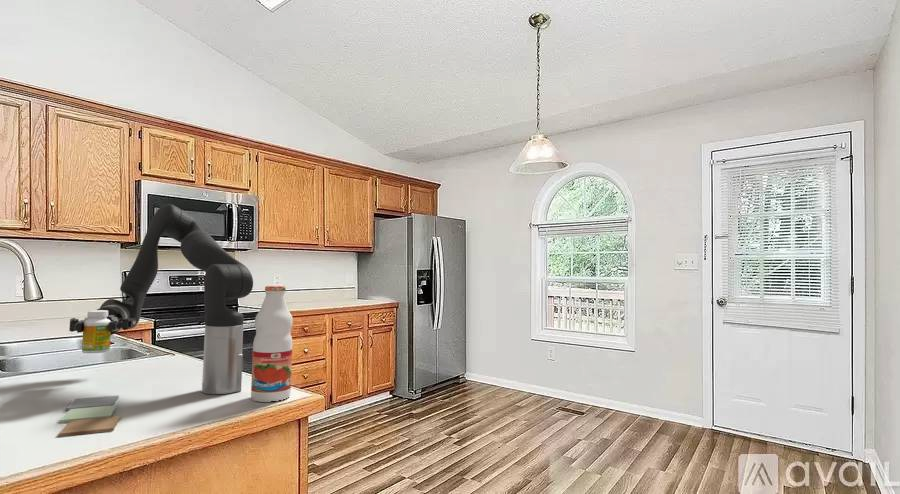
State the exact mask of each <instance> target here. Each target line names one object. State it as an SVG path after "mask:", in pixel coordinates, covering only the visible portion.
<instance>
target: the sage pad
mask: <svg viewBox="0 0 900 494" xmlns="http://www.w3.org/2000/svg"><path fill="white" fill-rule="evenodd" d="M117 407H118V405H117V404H114V405H112V406H100V407H89V408H77V409H70V410H69V411H66V413H65V414H64V415H63V416H62V417H61V418H60V419H59V424H64V423H67V424H68V423H69V422H70V421H71V420H81V419H92V418H102V417H113V414H114V413H115V412H116V409H117Z"/></svg>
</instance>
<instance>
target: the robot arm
mask: <svg viewBox="0 0 900 494" xmlns="http://www.w3.org/2000/svg"><path fill="white" fill-rule="evenodd" d="M162 235H166V236H167V237H169V238H171V239H173V240H175V241H177V242H178V243H180V252H181V254H182V255H183V256H184V258H185V259H186V260H187V261H188V262H189V264H191V265H192V266H193V267H195V268H196V269H198V270H201V271H203V272H205V275H204V279H203V281H204V283H203V284H204V285H203V287H204V289H203V290H204V292H203V293H204V295H203V296H204V300H203V301H204V305H203V306H204V310H203V311H204V321H205V322H204V342H203V361H202V379H201V381H202V382H201V392H202V393H203V394H205V395H226V394H231V393H235V392H241V391H242V383H243V382H242V380H243V379H242V378H243V377H242V376H243V360H244V359H243V356H244V355H243V340H244V339H243V338H244V337H243V335H244V321H245V320H244V319H245V317H244V314H243V313H241V312H238V311H235V310H232V309H230V308H229V307H227V305H226V302H225V301H226V300H235V299H237V300H238V299H242V298H245V297H247V296H249V295H250V294H251V292H252V290H253V287H254V279H253V276H252V273H251V271H250V270H249V269H248V267H247V266H246V265H245V264H243V263H242V262H240V261H239V260H237V259H236V258H235V257H233V256H232V255H231V254H229V252H227V251H226V250H225V249H224V248H223V247H222V246H221V245H220V244H219V243H218V242H217V241H216V240H215V239H214V238H213V237H212V236H211V235H210V234H208V233H207V232H206V231H204V230H203V229H202V228H201V226H200V225H199V224H198V222H197V220H196V219H195V218H194V217H193V216H192V215H191V214H189V213H188V212H186V211H184V209H181V208H179V207H178V206H176V205H174V204H171V203H165V204H163V205H162V206H160V208H157V210H156V212H155V213H154V215H153V217H152V218H151V220H150V223H149V226H148V228H147V230H146V233H145V236H144V238H143V240H142V243H141V245H140V248H139V251H138V254H137V256H136V258H135V261H134V262H133V265H132V266H131V268H130V270H129V271H128V273H127V274H126V276H125V278H124V280H123V281H122V283H121V285H120V287H119V288H120V291H121V292H122V293H123V294H125V295H127V296H128V297H130V298H131V299H132V301H133V302H132V304H131V303H127V302H124V301H121V300H118V299H115V298H109V299H107V300H105V301H104V302H103V303H101V306H100V307H99V308H97V309H96V310H107V311H108V317H107V319H109V320H110V321H111V322H109V332H111V336H113V335H115V334H117V333H118V332H120V331H121V330H122V331H127V330H130V329H133V328H136V326H137V325H138V324H139V322H140V319H141V314H142V309H143V305H144V302H145V298H146V296H147V293H148V292H149V290H150V288H151V287H152V285H153V283H154V282H155V279H156V277H157V274H158V270H159V258H158V257H159V255H158V254H159V253H158V252H159V250H158V249H159V242H160V239H161V237H162ZM88 319H89V317H88V316H87V317H84V319H81V320H79V318H75V317H72V318H70V319H69V330H68V331H69V332H76V333H83V324H84V322H85V321H86V320H88Z"/></svg>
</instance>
